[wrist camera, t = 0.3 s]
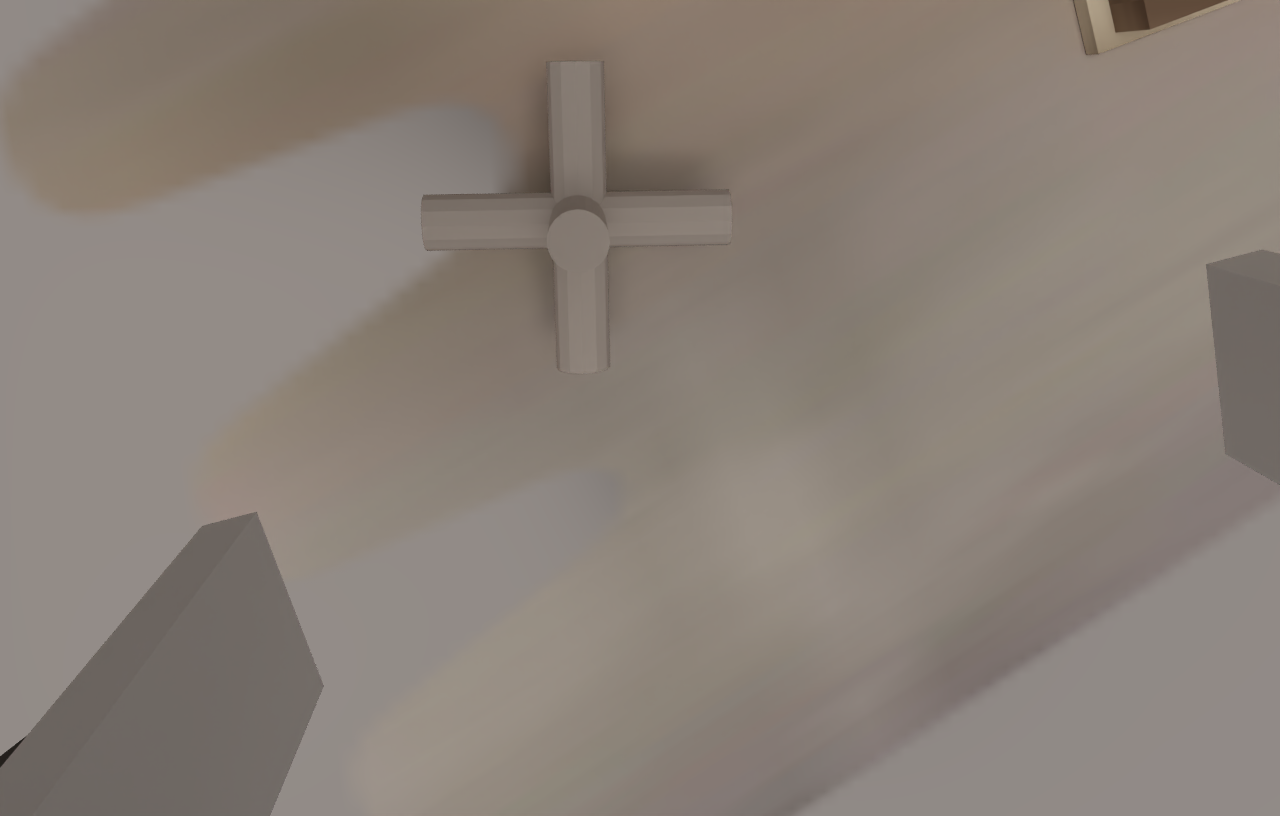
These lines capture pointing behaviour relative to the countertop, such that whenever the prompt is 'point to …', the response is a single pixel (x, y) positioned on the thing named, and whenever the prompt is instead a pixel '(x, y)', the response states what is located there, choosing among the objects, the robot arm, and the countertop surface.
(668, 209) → the pipe connector
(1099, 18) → the board
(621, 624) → the countertop surface
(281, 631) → the robot arm
